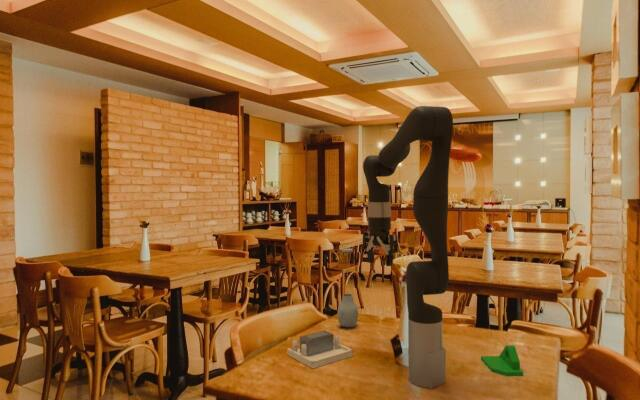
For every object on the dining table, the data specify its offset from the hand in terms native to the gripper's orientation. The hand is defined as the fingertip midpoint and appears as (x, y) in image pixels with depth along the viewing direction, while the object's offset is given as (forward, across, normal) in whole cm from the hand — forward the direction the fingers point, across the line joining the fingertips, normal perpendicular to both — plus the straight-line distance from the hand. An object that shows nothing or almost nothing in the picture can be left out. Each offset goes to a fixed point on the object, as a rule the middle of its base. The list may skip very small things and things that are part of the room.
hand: (379, 264), depth 150 cm
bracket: (+29, -34, -17) cm, 47 cm away
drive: (+27, +9, +20) cm, 35 cm away
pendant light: (+28, +24, -6) cm, 38 cm away
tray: (+28, +7, +20) cm, 35 cm away
